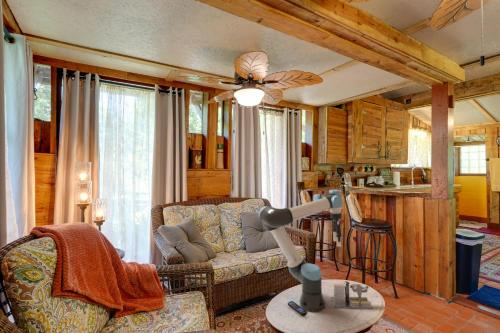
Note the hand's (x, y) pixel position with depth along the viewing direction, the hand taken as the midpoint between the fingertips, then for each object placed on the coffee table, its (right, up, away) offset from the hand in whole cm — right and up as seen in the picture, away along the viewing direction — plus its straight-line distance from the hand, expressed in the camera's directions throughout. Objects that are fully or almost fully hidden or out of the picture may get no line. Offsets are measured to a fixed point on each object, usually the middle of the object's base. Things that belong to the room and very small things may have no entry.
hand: (337, 243), depth 185 cm
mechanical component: (+7, -29, -22) cm, 37 cm away
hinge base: (+1, -30, -21) cm, 37 cm away
